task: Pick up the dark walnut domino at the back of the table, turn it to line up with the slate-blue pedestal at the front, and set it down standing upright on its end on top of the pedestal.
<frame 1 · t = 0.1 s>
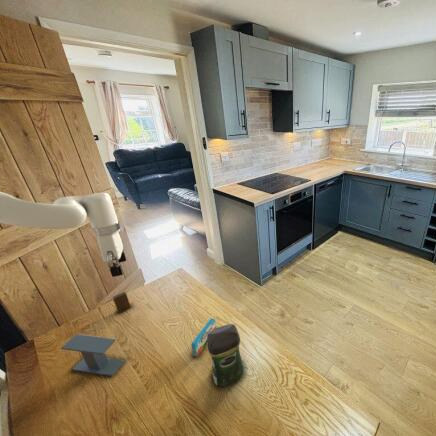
hand: (119, 268, 90), 23 cm above the table, tool pointing down, fingers open, 9 cm apart
coffee jar: (228, 373, 77), on the table
domino: (124, 310, 101), on the table
pedestal: (88, 343, 74), on the table
turquoise printed box: (205, 342, 88), on the table
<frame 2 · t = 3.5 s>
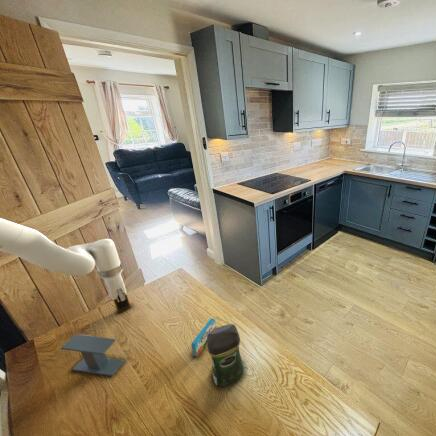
hand: (122, 305, 100), 3 cm above the table, tool pointing down, fingers closed on domino, 2 cm apart
domino: (124, 310, 101), on the table, touching gripper
everything else where it was.
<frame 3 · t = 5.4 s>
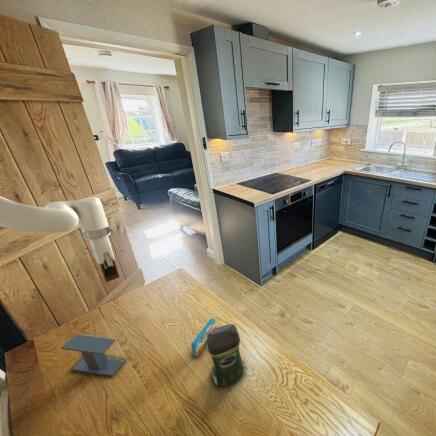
hand: (110, 273, 93), 19 cm above the table, tool pointing down, fingers closed on domino
domino: (112, 278, 94), point 17 cm above the table, touching gripper
everything else where it was.
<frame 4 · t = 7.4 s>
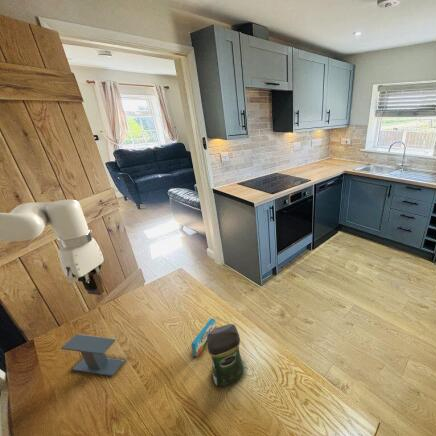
hand: (94, 286, 80), 23 cm above the table, tool pointing down, fingers closed on domino
domino: (96, 292, 81), point 20 cm above the table, touching gripper
everything else where it was.
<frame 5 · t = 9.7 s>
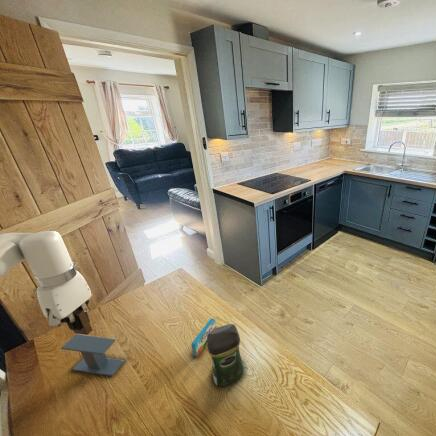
hand: (80, 325, 71), 19 cm above the table, tool pointing down, fingers closed on domino
domino: (83, 331, 72), point 16 cm above the table, touching gripper
everything else where it was.
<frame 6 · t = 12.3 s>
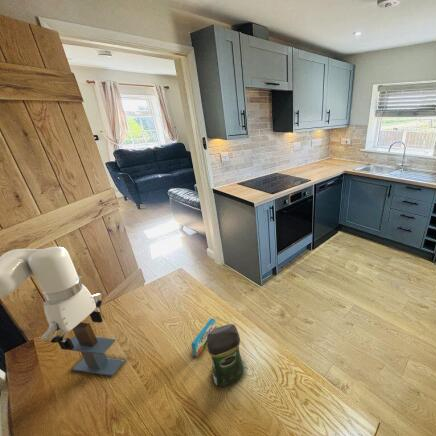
hand: (84, 334, 72), 15 cm above the table, tool pointing down, fingers open, 9 cm apart
domino: (89, 343, 74), point 11 cm above the table, touching pedestal
everything else where it was.
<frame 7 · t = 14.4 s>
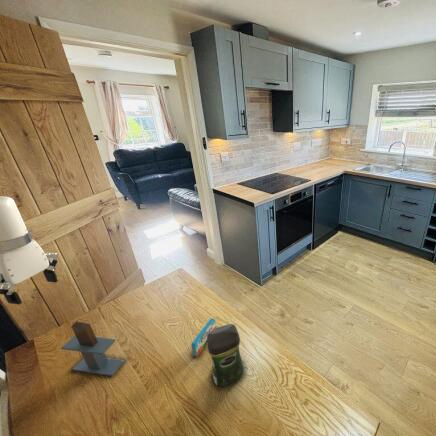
hand: (35, 291, 71), 28 cm above the table, tool pointing down, fingers open, 9 cm apart
nothing on the table moved.
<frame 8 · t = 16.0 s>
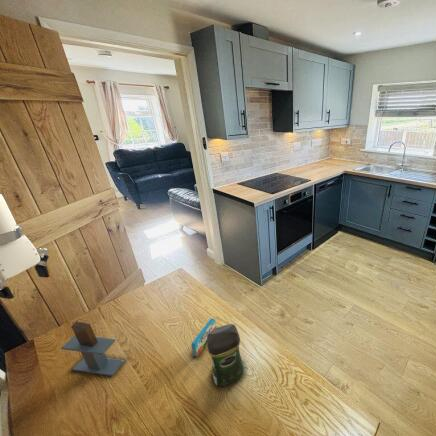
hand: (27, 286, 72), 28 cm above the table, tool pointing down, fingers open, 9 cm apart
nothing on the table moved.
at the end: domino inside the target area on the pedestal (0.1 cm from its centre), point 0.0 cm above the pedestal's base; domino tilted 0°; the gripper is holding nothing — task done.
